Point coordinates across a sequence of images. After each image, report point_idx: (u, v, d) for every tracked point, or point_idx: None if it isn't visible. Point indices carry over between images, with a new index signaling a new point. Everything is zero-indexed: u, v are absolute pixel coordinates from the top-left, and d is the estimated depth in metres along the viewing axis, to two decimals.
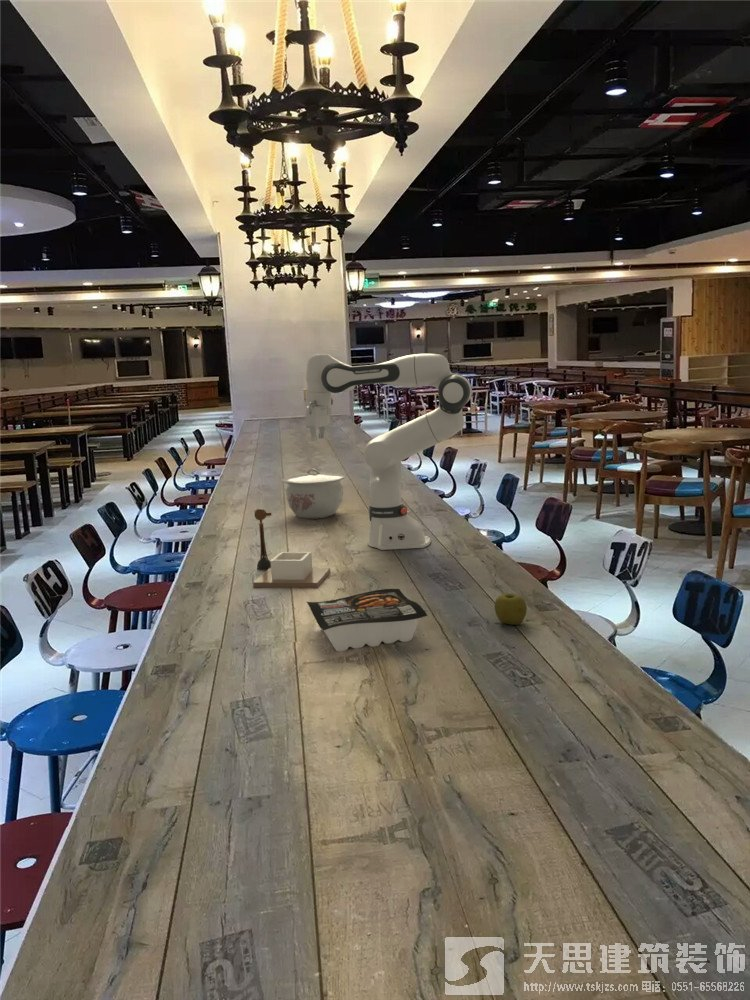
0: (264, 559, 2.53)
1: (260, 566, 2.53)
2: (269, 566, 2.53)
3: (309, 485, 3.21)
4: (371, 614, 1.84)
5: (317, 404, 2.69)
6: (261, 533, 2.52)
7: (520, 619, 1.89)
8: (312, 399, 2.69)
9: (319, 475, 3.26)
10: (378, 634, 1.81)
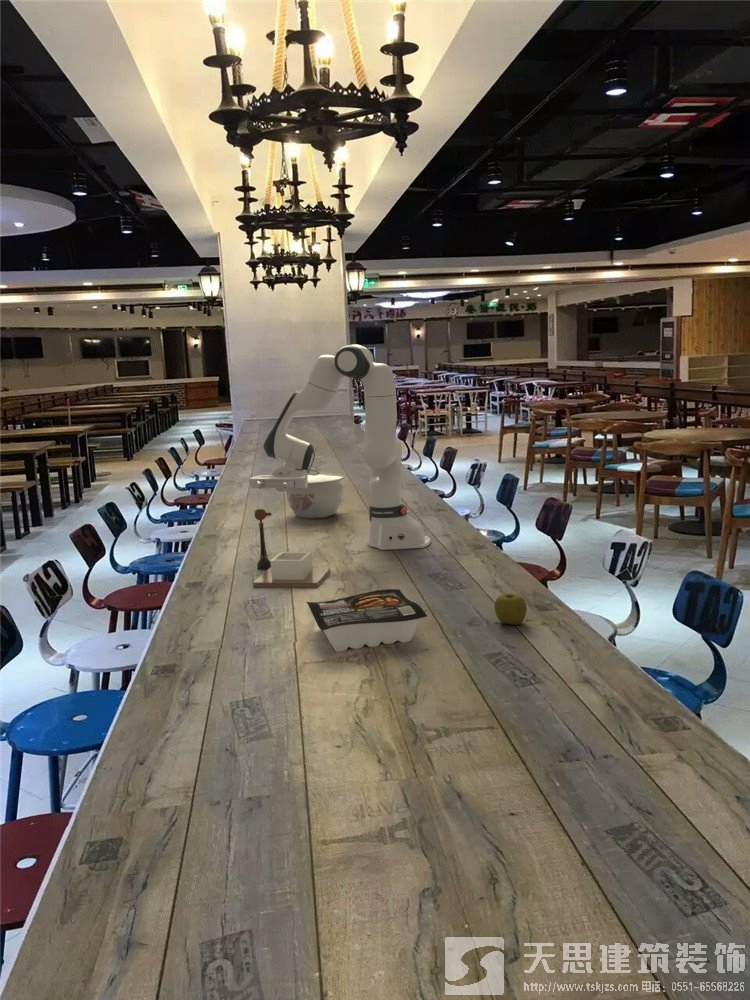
0: (264, 559, 2.53)
1: (260, 566, 2.53)
2: (269, 566, 2.53)
3: (309, 485, 3.21)
4: (370, 615, 1.84)
5: None
6: (261, 533, 2.52)
7: (520, 619, 1.89)
8: None
9: (319, 475, 3.26)
10: (377, 635, 1.81)
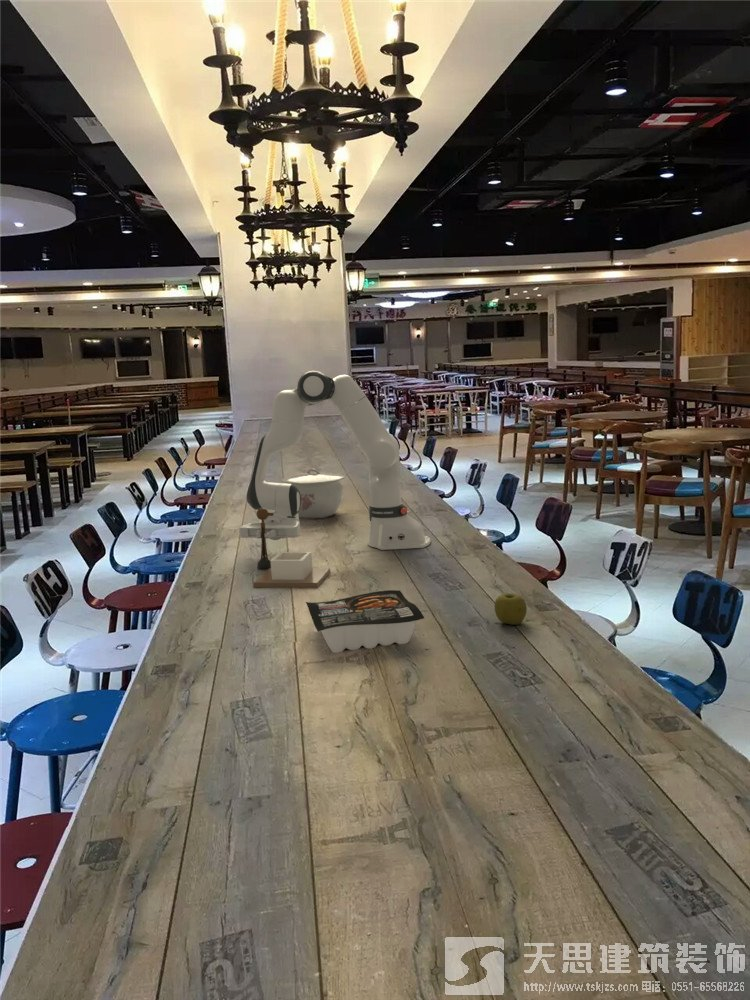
0: (264, 559, 2.53)
1: (260, 566, 2.53)
2: (269, 566, 2.53)
3: (309, 485, 3.21)
4: (368, 616, 1.83)
5: None
6: (262, 533, 2.52)
7: (520, 619, 1.89)
8: None
9: (319, 475, 3.26)
10: (374, 636, 1.80)
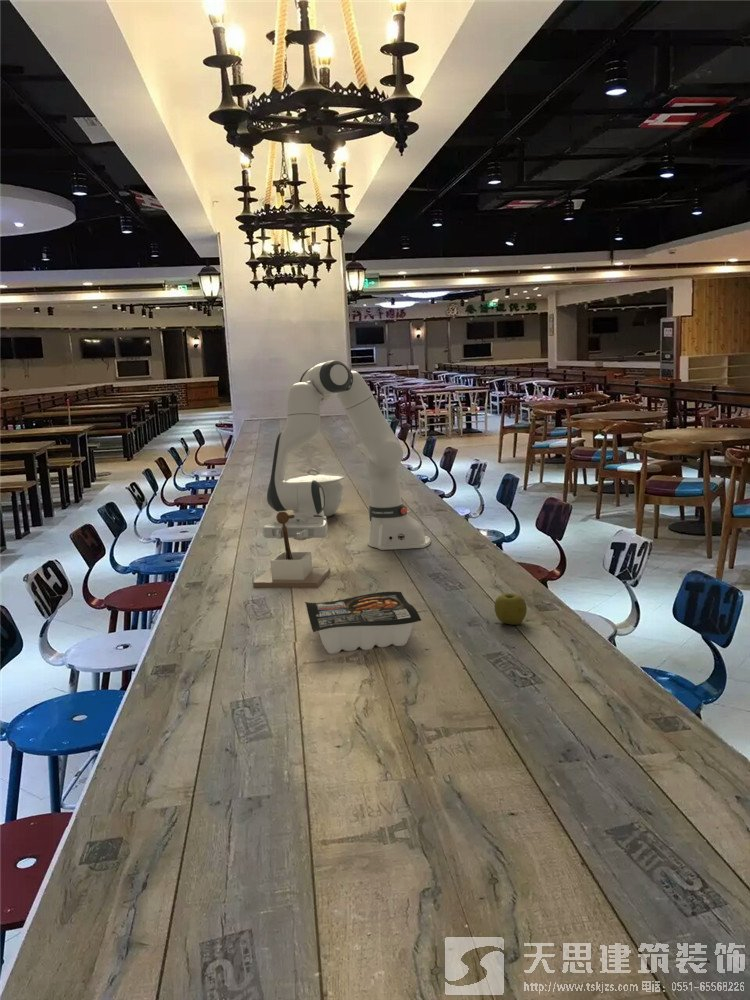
0: None
1: None
2: None
3: None
4: (365, 617, 1.82)
5: None
6: (285, 537, 2.37)
7: (520, 619, 1.89)
8: None
9: (319, 475, 3.26)
10: (370, 638, 1.79)
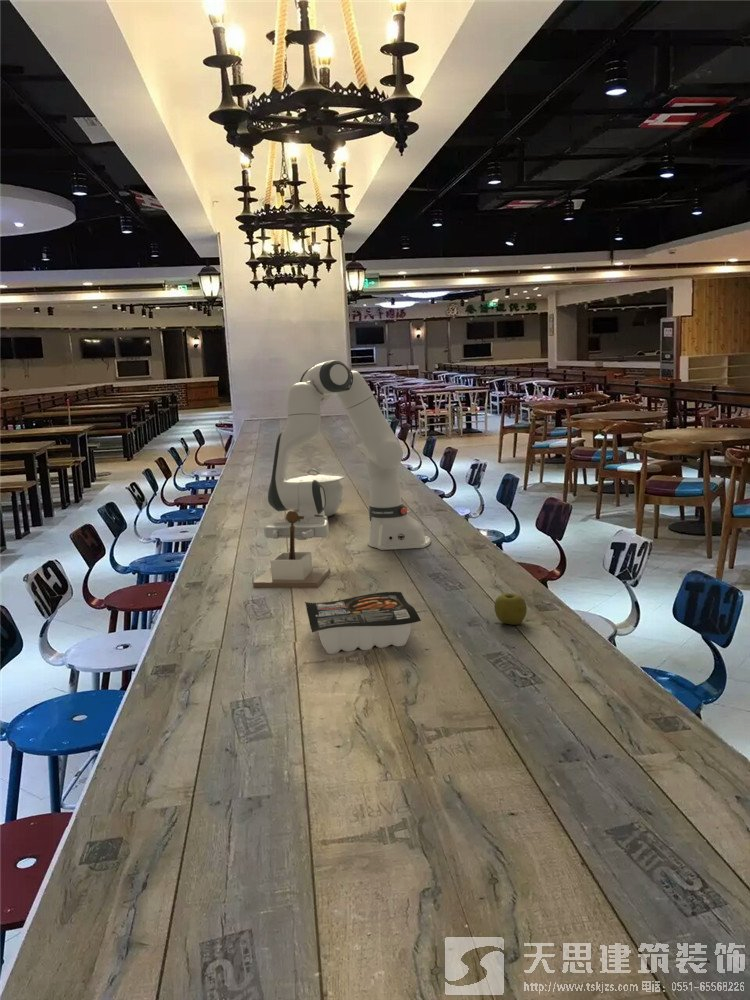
0: None
1: None
2: None
3: None
4: (364, 617, 1.82)
5: None
6: (291, 537, 2.37)
7: (520, 619, 1.89)
8: None
9: (319, 475, 3.26)
10: (369, 638, 1.79)
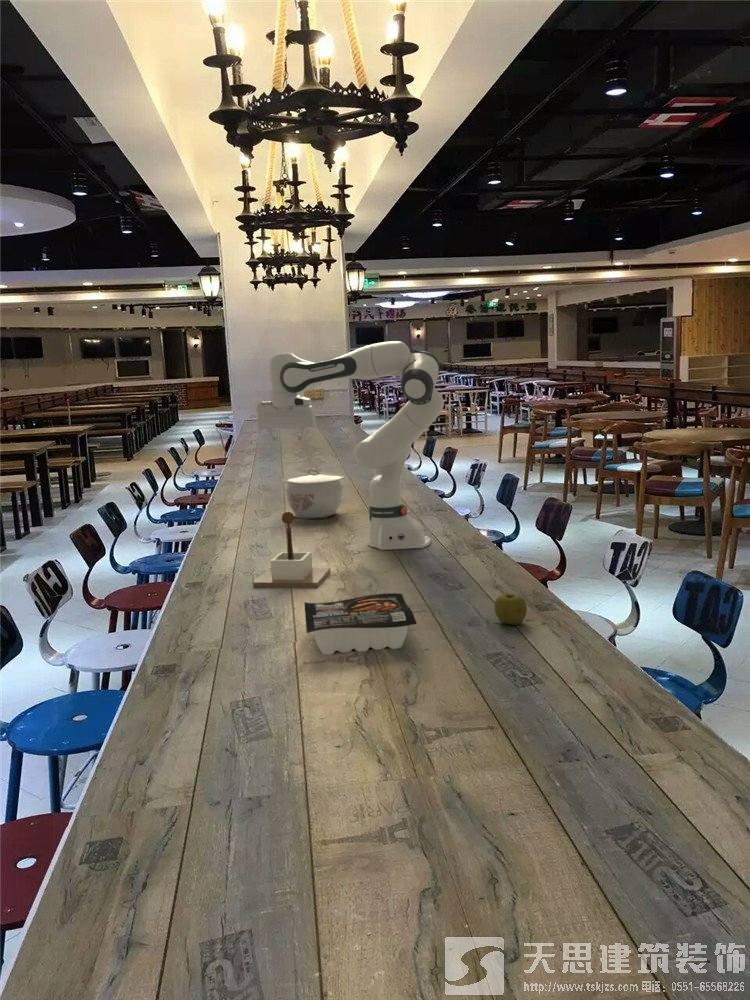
0: None
1: None
2: None
3: (309, 485, 3.21)
4: (361, 619, 1.81)
5: (272, 405, 2.68)
6: (288, 538, 2.37)
7: (520, 619, 1.89)
8: None
9: (319, 475, 3.26)
10: (365, 640, 1.78)
